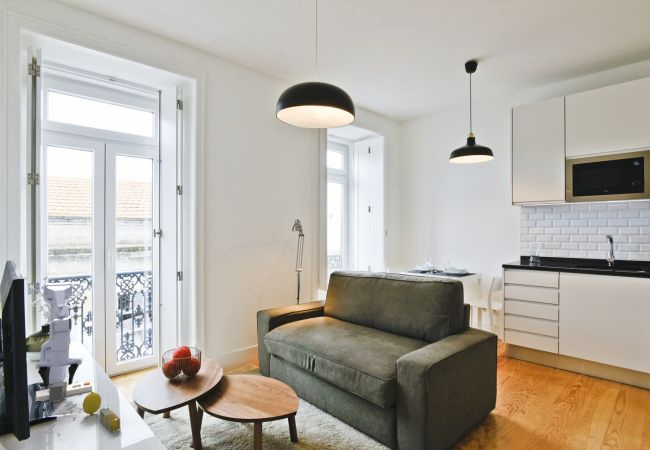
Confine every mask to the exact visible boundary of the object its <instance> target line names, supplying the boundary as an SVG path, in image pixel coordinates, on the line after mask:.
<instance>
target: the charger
mask: <svg viewBox="0 0 650 450" xmlns="http://www.w3.org/2000/svg"><path fill="white" fill-rule="evenodd" d="M67 383H68V381H61V382H57V383H54V384H51V385H50V386H49V389H50V392H49V400H48V401H49V402H53V403H60V402H61V401H62V400H63V399H64V398H65V397H66V396H65V395H66V391H67V385H68V384H67Z"/></svg>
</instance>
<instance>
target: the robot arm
mask: <svg viewBox="0 0 650 450" xmlns="http://www.w3.org/2000/svg"><path fill="white" fill-rule="evenodd" d="M72 293H73V283H72V282H71V281H68V282H54V283H52V282H51V283H44V285H43V301H44V302H46V303H49V306H50V309H49V311H50V315H49V335H48V336H49V339H48V340H45V341H44V342H43V343H42V344H41V346H40V356H39V359H40V360H39V361H38V362H36V363H35V369H36V370H38V371H37V373H38V374H39V376H40V378H41V379H42V382H43V383H42V384H43V386H44V388H48V387H50V386H49V385H53V384H54V383H57V382H64V380H65V379H64V378H68V380H67V383H68V384H67V385H71V384H73V380H74V376H75V374H76V371H77V370H78V368H79V366H80V365H82V364H83V358H82V357H81V358H80V357H79V358H73V357H72V358H71V357H70V341H71V340H70V338H71V337H70V334H71V332H72V328H73V327H72V326H73V320H72V317H71V315H70V312H69V311H70V310H69V306H68V305H67V304H66V301H69V300H70V299H71V296H72ZM67 366H69V367H67ZM67 370H68V375H66V374H67Z"/></svg>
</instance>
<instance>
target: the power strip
mask: <svg viewBox="0 0 650 450" xmlns="http://www.w3.org/2000/svg"><path fill="white" fill-rule="evenodd" d="M49 392H50V388H47V389H40V390H37V391H35V402H36V401H41V402H46V401H49ZM88 392H93V384H92V382H91V380H87V381H81V382H77V383H72V384H71V385H68V384H67V391H66V395H65V396H64V397H67V396H73V395H74V396H75V395H77V394H83V393H88Z"/></svg>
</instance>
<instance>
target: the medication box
mask: <svg viewBox="0 0 650 450" xmlns="http://www.w3.org/2000/svg"><path fill="white" fill-rule="evenodd" d="M99 421H100V422H101V423H102V424H103V425H104V426H105V427H106V429H107V430H109V431H110V432H111V433H114V432H113V431H115V432H117V431H116V430H118V429H120V430H121V418H120V417H119V416H118V415H117V414H116V413H114V412H113V410H112V409H110V407H103V408H101V409H99ZM118 431H119V430H118Z"/></svg>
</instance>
